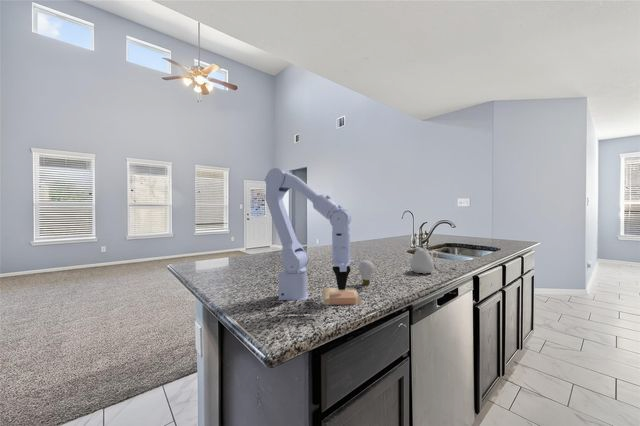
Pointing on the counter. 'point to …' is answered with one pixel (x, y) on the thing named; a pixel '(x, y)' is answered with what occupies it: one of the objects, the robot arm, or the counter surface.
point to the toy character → (422, 261)
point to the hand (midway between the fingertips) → (341, 289)
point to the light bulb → (366, 271)
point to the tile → (342, 298)
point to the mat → (327, 290)
